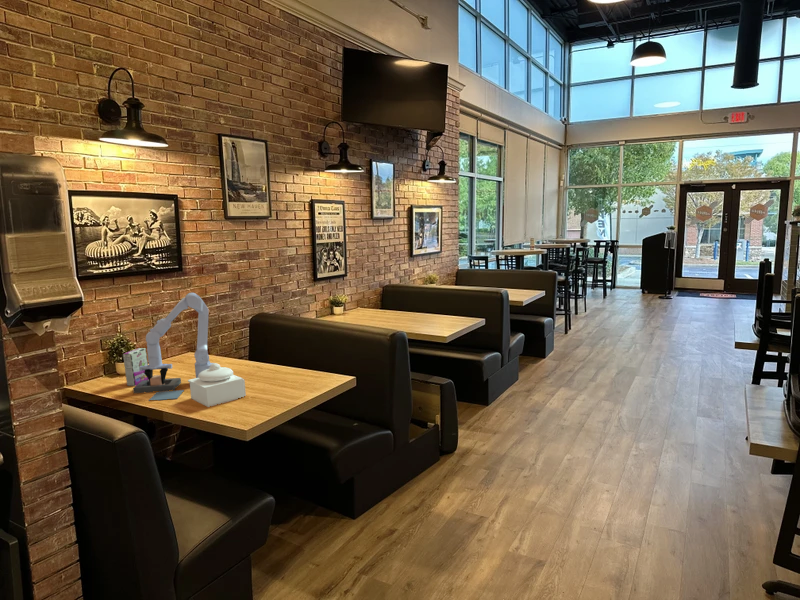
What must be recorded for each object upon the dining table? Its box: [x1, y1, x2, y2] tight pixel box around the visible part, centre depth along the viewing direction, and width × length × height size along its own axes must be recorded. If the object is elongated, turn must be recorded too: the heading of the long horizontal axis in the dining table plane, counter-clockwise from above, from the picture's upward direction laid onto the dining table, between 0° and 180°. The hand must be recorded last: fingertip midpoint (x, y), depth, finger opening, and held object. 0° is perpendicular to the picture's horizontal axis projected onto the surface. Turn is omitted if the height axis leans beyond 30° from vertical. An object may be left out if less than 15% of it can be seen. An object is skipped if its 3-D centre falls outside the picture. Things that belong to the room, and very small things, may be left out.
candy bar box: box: [122, 347, 149, 387], centre depth 263 cm, size 11×5×16 cm, turn 168°
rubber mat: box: [148, 389, 185, 402], centre depth 242 cm, size 12×12×1 cm
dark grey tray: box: [132, 377, 182, 394], centre depth 254 cm, size 18×12×2 cm
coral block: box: [150, 374, 165, 385], centre depth 254 cm, size 4×6×5 cm
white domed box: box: [187, 362, 247, 408], centre depth 235 cm, size 18×18×16 cm
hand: (157, 384), depth 254 cm, fingers closed on coral block, 4 cm apart
